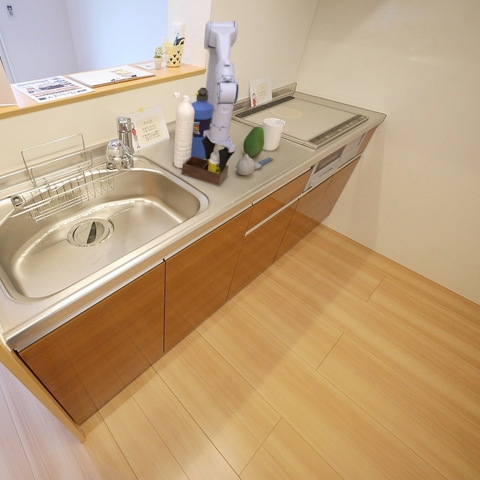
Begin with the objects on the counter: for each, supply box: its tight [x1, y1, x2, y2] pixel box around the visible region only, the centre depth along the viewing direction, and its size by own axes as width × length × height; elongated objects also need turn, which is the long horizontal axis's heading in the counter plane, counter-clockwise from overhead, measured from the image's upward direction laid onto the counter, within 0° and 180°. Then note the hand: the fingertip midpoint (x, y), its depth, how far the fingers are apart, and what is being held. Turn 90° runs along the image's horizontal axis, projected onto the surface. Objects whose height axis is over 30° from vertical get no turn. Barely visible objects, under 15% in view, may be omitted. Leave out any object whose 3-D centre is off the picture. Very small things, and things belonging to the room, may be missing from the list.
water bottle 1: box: [172, 91, 195, 169], centre depth 100 cm, size 9×6×25 cm
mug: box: [261, 117, 286, 152], centre depth 117 cm, size 9×12×11 cm
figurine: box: [235, 153, 256, 176], centre depth 100 cm, size 6×7×8 cm
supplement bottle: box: [208, 151, 221, 174], centre depth 98 cm, size 5×5×8 cm
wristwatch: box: [236, 157, 274, 175], centre depth 106 cm, size 4×20×1 cm, turn 128°
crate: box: [181, 156, 229, 186], centre depth 101 cm, size 15×8×4 cm, turn 58°
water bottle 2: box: [190, 87, 214, 159], centre depth 106 cm, size 9×9×25 cm
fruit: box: [242, 126, 264, 159], centre depth 109 cm, size 8×8×12 cm
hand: (215, 163), depth 97 cm, fingers open, 7 cm apart
